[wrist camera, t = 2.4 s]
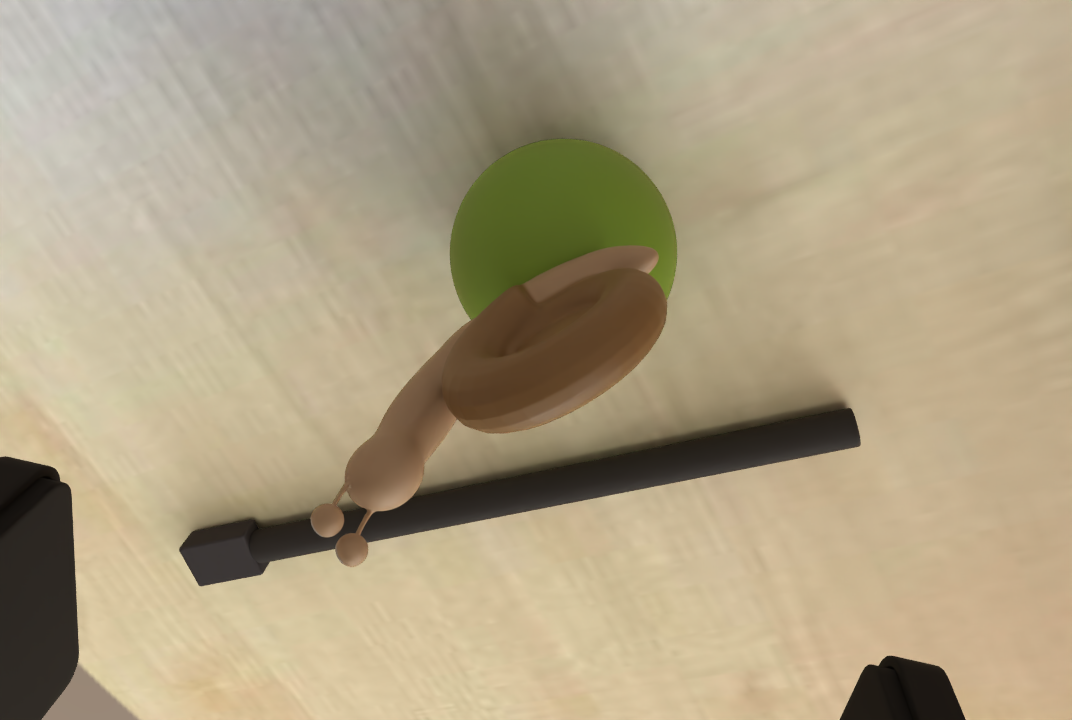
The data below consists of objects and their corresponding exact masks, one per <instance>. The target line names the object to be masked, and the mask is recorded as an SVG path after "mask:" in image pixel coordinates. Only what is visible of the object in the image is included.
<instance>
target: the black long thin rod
mask: <svg viewBox="0 0 1072 720" xmlns="http://www.w3.org/2000/svg"><path fill="white" fill-rule="evenodd" d="M860 443H861V442H860V435H859V430H858V426H857V422H856V419H855V416H854V413H853V411H852V409H851V408H847V409H843V410H838V411H833V412H828V413H823V414H818V415H813V416H808V417H803V418H799V419H794V420H789V421H784V422H779V423H774V424H769V425H764V426H760V427H755V428H750V429H745V430H740V431H735V432H730V433H725V434H721V435H716V436H711V437H706V438H701V439H696V440H691V441H686V442H682V443H677V444H672V445H667V446H662V447H657V448H652V449H647V450H642V451H638V452H633V453H628V454H623V455H618V456H613V457H608V458H603V459H599V460H594V461H589V462H584V463H579V464H574V465H569V466H564V467H560V468H555V469H550V470H545V471H540V472H535V473H530V474H525V475H520V476H516V477H511V478H506V479H501V480H496V481H491V482H486V483H481V484H477V485H472V486H467V487H462V488H457V489H452V490H447V491H442V492H438V493H433V494H428V495H423V496H418V497H413V498H410V499H409V500H408V501H407V502H405V503H404V504H402V505H401V506H399V507H397V508H394V509H391V510H387V511H376V512H374V513H373V514H372V515H371V516H370V518H369V519H368V521H367V522H366V524H365V526H364V528H363V530H362V532H361V534H360V536H362V537H363V538H364V539H365V540H366V542H367V543H368V542H373V541H378V540H383V539H388V538H393V537H398V536H403V535H409V534H414V533H419V532H424V531H429V530H434V529H439V528H444V527H450V526H455V525H460V524H465V523H470V522H475V521H480V520H485V519H491V518H496V517H501V516H506V515H511V514H516V513H521V512H526V511H531V510H537V509H542V508H547V507H552V506H557V505H562V504H567V503H572V502H578V501H583V500H588V499H593V498H598V497H603V496H608V495H613V494H619V493H624V492H629V491H634V490H639V489H644V488H649V487H654V486H660V485H665V484H670V483H675V482H680V481H685V480H690V479H695V478H700V477H706V476H711V475H716V474H721V473H726V472H731V471H736V470H741V469H747V468H752V467H757V466H762V465H767V464H772V463H777V462H782V461H788V460H793V459H798V458H803V457H808V456H813V455H818V454H823V453H828V452H834V451H839V450H844V449H849V448H854V447H859V446H860ZM342 513H343V515H344V524H343V527H342V529H341V530H340V531H339V533H337V534H336V535H334V536H332V537H322V536H320V535H318V534H317V533H316V532H315V531H314V529H313V527H312V525H311V519H306V520H301V521H296V522H291V523H286V524H281V525H277V526H272V527H267V528H262V529H259V528H258V526H257V524H256V522H255V520H254V519H251V520H246V521H241V522H237V523H232V524H227V525H222V526H217V527H213V528H208V529H203V530H198V531H193V532H192V533H191V534H190V535H189V536H188V538H187V539H186V540H185V542H184V543H183V544H182V546H181V547H180V549H179V551H180V553H181V554H182V556H183V558H184V560H185V561H186V563H187V565H188V567H189V569H190V570H191V572H192V574H193V576H194V577H195V579H196V581H197V583H198V585H199V586H205V585H210V584H215V583H221V582H226V581H231V580H236V579H241V578H247V577H252V576H257V575H261V574H263V572H264V571H265V569H266V567H267V566H268V564H269V562H270V561H275V560H281V559H286V558H291V557H296V556H301V555H306V554H311V553H316V552H322V551H327V550H332V549H335V547H336V544H337V541H338V540H339V539H340V538H341V537H342V536H344V535H346V534H349V533H355V534H356V531H357V529H358V527H359V525H360V523H361V522H362V520H363V518H364V516H365V514H366V513H367V510H366V509H365V508H359V509H355V510H350V511H345V512H342Z"/></svg>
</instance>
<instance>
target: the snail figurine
mask: <svg viewBox="0 0 1072 720" xmlns="http://www.w3.org/2000/svg"><path fill="white" fill-rule="evenodd" d="M676 263H677V242H676V234H675V229H674V225H673V221H672V217H671V215H670V212H669V209H668V207H667V205H666V203H665V200H664V199H663V197H662V195H661V193H660V192H659V190H658V189H657V187H656V186H655V184H654V183H653V182H652V181H651V179H650V178H649V177H648V176H647V175H646V174H645V173H644V172H643V171H642V170H641V169H640V168H639V167H638V166H637V165H636V164H634V163H633V162H632V161H630V160H629V159H628V158H626V157H625V156H623V155H621V154H620V153H618V152H616V151H614V150H612V149H610V148H608V147H605V146H602V145H599V144H596V143H593V142H589V141H584V140H577V139H551V140H544V141H539V142H535V143H531V144H528V145H525V146H523V147H520V148H518V149H516V150H514V151H512V152H510V153H508V154H506V155H505V156H503V157H501V158H500V159H498V160H497V161H496V162H494V163H493V164H492V165H491V166H490V167H488V168H487V169H486V170H485V171H484V172H483V173H482V174H481V175H480V176H479V177H478V179H477V180H476V181H475V182H474V184H473V185H472V186H471V188H470V189H469V191H468V192H467V194H466V196H465V197H464V199H463V201H462V203H461V205H460V207H459V210H458V212H457V215H456V218H455V221H454V225H453V229H452V234H451V242H450V265H451V273H452V278H453V282H454V286H455V289H456V292H457V295H458V297H459V299H460V302H461V304H462V306H463V308H464V309H465V311H466V313H467V314H468V316H469V318H470V319H471V321H469V322H468V323H466V324H465V325H463V326H462V327H461V328H460V329H459V330H457V331H456V332H455V333H454V334H453V335H452V336H451V337H450V338H449V339H448V340H447V341H446V342H445V344H444V345H443V346H442V347H441V348H440V349H439V350H438V351H437V352H436V353H435V354H434V355H433V356H432V357H431V358H430V359H429V360H428V361H427V362H426V363H425V364H424V365H423V366H422V367H421V369H420V370H419V371H418V372H417V373H416V374H415V375H414V376H413V377H412V378H411V379H410V380H409V382H408V383H407V384H406V385H405V386H404V387H403V389H402V390H401V391H400V393H399V394H398V395H397V397H396V398H395V399H394V401H393V402H392V404H391V405H390V407H389V408H388V410H387V412H386V413H385V415H384V417H383V419H382V421H381V423H380V425H379V427H378V429H377V431H376V432H375V434H374V435H373V436H372V437H371V438H370V439H369V440H367V441H366V442H365V443H363V444H362V445H361V446H360V447H359V448H358V449H357V450H356V451H355V452H354V454H353V455H352V456H351V458H350V460H349V462H348V464H347V467H346V471H345V484H344V485H343V487H342V488H341V490H340V491H339V493H338V494H337V496H336V498H335V499H334V501H333V503H332V504H328V503H327V504H322V505H319V506H318V507H316V508H315V509H314V511H313V512H312V515H311V525H312V527H313V529H314V531H315V532H316V533H317V534H318V535H320V536H322V537H332V536H334V535H336V534H337V533H339V531H340V530H341V529H342V527H343V524H344V515H343V513H342V511H341V510H340V508H339V507H337V506H336V505H337V503H338V501H339V500H340V498H341V497H342V495H343V494H344V493H345V492H346V490H347V492H348V494H349V496H350V498H351V499H352V500H353V501H354V502H355V503H356V504H357V505H359V506H360V507H363V508H365V509H366V510H367V513H366V514H365V516H364V518H363V520H362V522H361V523H360V525H359V527H358V529H357V531H356V534H355V533H349V534H346V535H344V536H342V537H341V538H340V539H339V540H338V541H337V544H336V547H335V551H336V555H337V557H338V559H339V560H340V562H341V563H342V564H344V565H346V566H349V567H354V566H357V565H359V564H361V563H362V562H363V561H364V560H365V559H366V557H367V554H368V545H367V542H366V540H365V539H364V538H363V537H362V536H360V534H361V532H362V530H363V528H364V526H365V524H366V522H367V521H368V519H369V518H370V516H371V515H372V514H373V513H374V512H376V511H387V510H391V509H394V508H397V507H399V506H401V505H402V504H404V503H405V502H407V501H408V500H409V499H410V498H411V497H412V496H413V495H414V494H415V492H416V491H417V489H418V488H419V486H420V484H421V481H422V478H423V474H424V464H425V462H426V461H427V460H428V459H429V457H430V456H431V455H432V454H433V452H434V451H435V450H436V448H437V447H438V446H439V445H440V443H441V442H442V441H443V439H444V438H445V437H446V435H447V434H448V432H449V431H450V429H451V428H452V426H453V425H454V423H455V421H456V420H457V419H458V420H459V421H460V422H461V423H462V424H464V425H465V426H467V427H470V428H473V429H476V430H479V431H482V432H485V433H510V432H516V431H522V430H527V429H531V428H534V427H537V426H540V425H543V424H546V423H549V422H551V421H553V420H556V419H558V418H560V417H563V416H565V415H567V414H569V413H571V412H573V411H574V410H576V409H578V408H580V407H582V406H584V405H585V404H587V403H589V402H590V401H592V400H593V399H595V398H597V397H598V396H600V395H601V394H603V393H604V392H606V391H607V390H608V389H610V388H611V387H612V386H614V385H615V384H616V383H618V382H619V381H620V380H622V379H623V378H624V377H625V376H626V375H627V374H628V373H629V372H630V371H632V370H633V369H634V368H635V367H636V366H637V365H638V364H639V363H640V362H641V360H642V359H643V358H644V357H645V356H646V355H647V354H648V352H649V351H650V350H651V348H652V347H653V345H654V344H655V342H656V341H657V339H658V338H659V336H660V334H661V332H662V329H663V327H664V325H665V321H666V314H667V298H668V296H669V293H670V291H671V288H672V284H673V281H674V276H675V271H676Z"/></svg>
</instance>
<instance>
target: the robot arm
mask: <svg viewBox="0 0 1072 720" xmlns="http://www.w3.org/2000/svg"><path fill="white" fill-rule="evenodd" d="M78 658H79V644H78V623H77V602H76V580H75V559H74V538H73V516H72V495H71V489H70V487H69V485H68V484H66V483H63V482H60V477H59V474H58V472H57V470H56V469H55V468H53V467H50V466H46V465H42V464H37V463H33V462H28V461H24V460H20V459H15V458H11V457H6V456H5V457H0V720H41V719H42V718H43V716H44V715H45V714H46V713H47V711H48V710H49V709H50V708H51V706H52V705H53V704H54V702H55V701H56V700H57V699H58V697H59V696H60V695H61V694H62V692H63V691H64V690H65V688H66V687H67V685H68V684H69V682H70V681H71V679H72V677H73V675H74V672H75V669H76V667H77V663H78ZM840 720H966V719H965V717H964V715H963V712H962V710H961V707H960V705H959V703H958V700H957V698H956V695H955V693H954V691H953V688H952V686H951V683H950V681H949V679H948V676H947V675H946V673H945V671H944V670H943V669H942V668H940V667H939V666H935V665H931V664H926V663H922V662H917V661H913V660H909V659H904V658H900V657H895V656H887V657H885V658H884V659H883V660H882V661H881V663H880V664H879V666H876V665H868V666H866V667H865V668H864V670H863V672H862V673H861V675H860V678H859V680H858V682H857V684H856V686H855V688H854V690H853V693H852V695H851V697H850V699H849V701H848V703H847V705H846V707H845V710H844V712H843V714H842V716H841V718H840Z"/></svg>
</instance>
